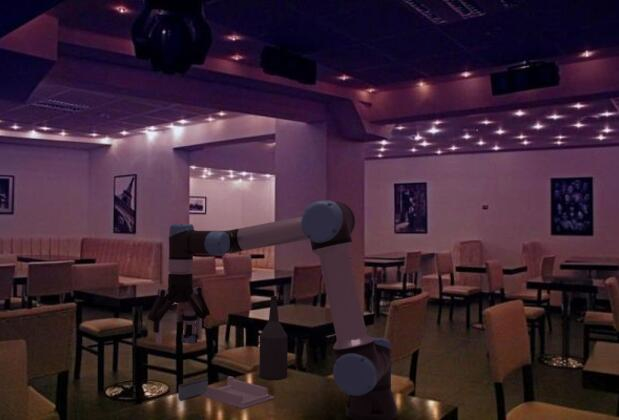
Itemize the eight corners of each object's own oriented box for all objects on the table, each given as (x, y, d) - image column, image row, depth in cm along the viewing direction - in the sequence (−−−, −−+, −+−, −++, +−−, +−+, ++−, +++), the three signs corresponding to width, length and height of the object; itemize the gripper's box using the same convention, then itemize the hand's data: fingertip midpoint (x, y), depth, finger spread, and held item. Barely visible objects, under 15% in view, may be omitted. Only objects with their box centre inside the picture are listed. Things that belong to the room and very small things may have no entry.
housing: (275, 398, 184) (275, 387, 184) (242, 408, 173) (242, 397, 173) (230, 385, 198) (230, 376, 198) (197, 395, 187) (197, 384, 187)
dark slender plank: (207, 392, 188) (208, 378, 188) (180, 400, 180) (181, 385, 180) (205, 391, 189) (205, 378, 189) (178, 399, 181) (178, 385, 181)
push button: (204, 342, 183) (205, 311, 183) (196, 346, 178) (196, 314, 178) (186, 340, 185) (187, 309, 185) (177, 344, 180) (178, 312, 180)
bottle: (288, 374, 214) (288, 294, 215) (286, 381, 205) (287, 297, 205) (260, 373, 214) (261, 294, 215) (258, 380, 205) (258, 297, 206)
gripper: (209, 270, 190) (208, 334, 189) (137, 273, 174) (135, 343, 173) (221, 272, 184) (219, 338, 183) (147, 275, 168) (145, 347, 168)
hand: (179, 340), depth 178 cm, fingers open, 13 cm apart
